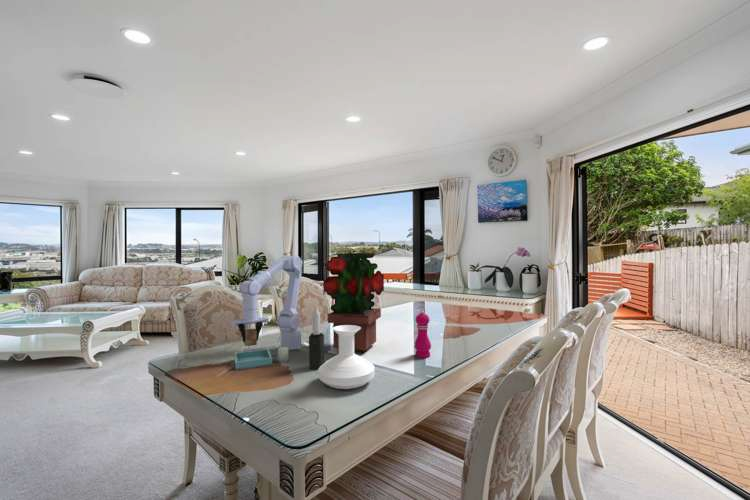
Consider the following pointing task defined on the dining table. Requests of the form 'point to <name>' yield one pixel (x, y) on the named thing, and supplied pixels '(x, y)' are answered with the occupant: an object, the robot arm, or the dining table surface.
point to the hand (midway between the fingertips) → (250, 340)
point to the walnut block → (250, 337)
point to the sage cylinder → (283, 354)
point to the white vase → (346, 363)
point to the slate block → (271, 350)
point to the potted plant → (354, 296)
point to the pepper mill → (422, 336)
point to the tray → (252, 359)
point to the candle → (316, 343)
